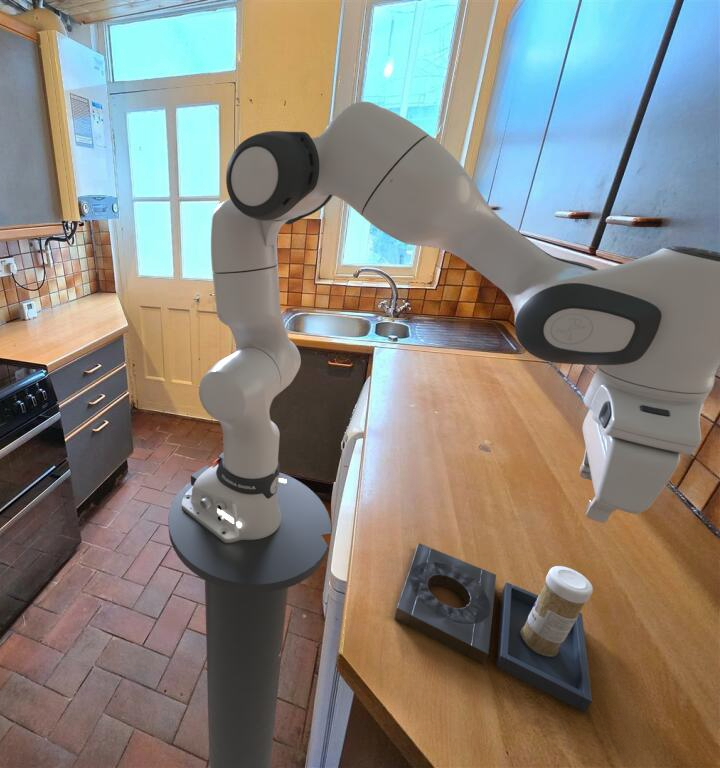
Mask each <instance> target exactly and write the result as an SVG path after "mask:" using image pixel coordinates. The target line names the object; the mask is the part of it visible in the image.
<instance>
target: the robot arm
mask: <svg viewBox="0 0 720 768" xmlns="http://www.w3.org/2000/svg"><path fill="white" fill-rule="evenodd" d="M225 183H226V190H227V193H228V196H229V198H228V199H226V200H224V201H222V202H221V203H220V204H219V205H218V206H216V208H215V209H214V211H213V214H212V216H211V217H212V218H211V228H210V230H211V231H210V260H211V272H212V281H213V282H212V283H213V292H214V301H215V310H216V315H217V318H218V320H219V321H220V322H221V323H222V324H223V325H225V326H227V327H228V328H229V330H230V332H231V334H232V336H233V339H234V343H235V350H234V351H235V352H233V353H231V354H229V355H227V356H225V357H224V358H222V359H220V360H218V361H217V362H216V363H215V364H214V365H213V366H212V367H211V368H209V370H208V371H207V372H206V373H205V374H204V375H203V377H202V378H201V379H200V382H199V385H198V396H199V400H200V403H201V406H202V408H203V409H204V411H205V412H206V413H207V414H208V415H209V416H210V417H211V418H213V419H214V420H216V421H218V422H219V423H220V426H221V430H222V443H223V445H222V446H223V452H222V453H220V454H219V455H218V457H217V458H216V459H215V460H214V461H213V462H212V466H208V465H207V464H206V465H204V466H203V467H202V468H200V469H199V470H197V471H196V472H194V473H192V474H191V475H190V482H191V485H192V486H193V487H192V488H191V489H190V490H189V491H188V492H187V493H186V494H185V496H184V498H183V500H182V506H181V507H182V509H183V510H184V511H186V512H187V513H188V514H189V515H191V516H192V517H193V518H194V519H196V520H197V521H198V522H199V523H201V524H202V525H203V526H205V527H206V528H207V529H208V530H210V531H211V532H212V533H213V534H215V535H216V536H217V537H218V538H220V539H221V540H222V541H223V542H225V543H232V542H236V541H239V540H256V539H261V538H265V537H267V536H269V535H271V534H273V533H274V532H275V531H276V530H277V529H278V528H279V526H280V524H281V519H282V516H281V512H280V509H279V504H278V497H277V489H278V484H279V482H283V483H286V481H287V480H285V479H280V478H279V472H280V461H279V452H280V451H279V449H280V436H281V435H280V430H279V428H278V425H277V424H276V423H275V422H273V420H271V416H270V409H271V406H272V403H273V400H274V399H275V398H276V397H277V396H278V395H280V394H281V392H283V391H284V390H285V389H287V388H288V387H289V386H290V385H291V383H293V381H294V379H295V378H296V376H297V374H298V373H299V370H300V368H301V364H302V359H301V353H300V350H299V349H298V347H297V345H296V344H295V343H294V342H293V341H292V340H291V339H290V337H289V335H288V331H287V328H286V325H285V322H284V321H285V320H284V317H283V314H282V306H281V294H280V292H281V291H280V278H279V277H280V276H279V262H278V261H279V260H278V237H279V233H280V230H281V228H282V227H283V226H284V225H292V224H294V223H295V222H298V221H300V220H302V219H304V218H306V217H309V216H311V215H313V214H314V213H317V212H318V211H320V210H321V209H322V208H324V207H325V206H326V205H328V203H329V202H330V201H331V200H332V198H333V197H334V196H335V197H336V198H338V199H340V200H342V201H343V202H344V203H345V204H347V205H349V207H351V208H352V209H353V210H354V211H356V212H357V213H358V214H359V215H360V216H361V217H362V218H363V219H364V220H366V221H367V222H369V224H371V225H372V226H373V227H375V228H376V229H377V230H379V231H380V232H382V233H384V234H386V235H387V236H390V237H391V238H393V239H395V240H396V241H398V242H400V243H403V244H405V245H409V246H417V247H418V246H419V247H426V248H433V249H438V250H441V251H445V252H447V253H450V254H453V256H456V257H458V258H459V259H461V260H462V261H464V262H465V263H467V264H468V265H469V266H470V267H472V268H473V269H474V270H475V271H476V272H478V273H479V274H480V275H482V276H483V277H484V278H486V279H487V280H488V281H490V282H491V283H492V284H493V285H494V286H496V287H497V288H499V289H500V290H501V291H502V292H503V293H504V294H505V296H506V297H507V299H508V300H509V302H510V304H511V307H512V310H513V313H514V332H515V336H516V339H517V341H518V342H519V344H520V346H521V347H522V348H523V349H524V350H525V351H527V352H528V353H529V354H530V355H531V356H533V357H535V358H537V359H539V360H541V361H546V362H549V363H554V364H566V365H579V366H580V365H581V366H583V365H584V366H586V365H587V366H597V367H596V370H595V372H594V374H593V376H592V378H591V380H590V382H589V385H588V387H587V390H586V392H585V394H584V397H583V398H582V399H583V400H582V401H583V403H584V405H585V407H587V408H588V409H589V410H588V412H587V413H586V415H585V418H584V420H583V423H582V429H581V430H582V435H583V439H584V445H585V451H584V455H583V459H582V460H583V461H582V462H581V465H580V468H579V474H580V477H581V478H582V479H585V480H589V481H592V487H593V491H594V497H593V499H589V500H588V502H587V505H586V507H585V515H586V518H588V519H589V520H591V521H594V522H597V523H602V524H603V523H607V522H608V519H609V518H610V516H611V515H612V513H614V512H615V511H617V510H618V511H622V512H625V513H628V514H632V515H638V514H641V513H643V512H645V511H647V510H648V509H649V508H651V506H653V504H654V502H655V501H656V499H657V498H658V497H659V495H660V494H661V493H662V491H663V490H664V488H665V487H666V486H667V485H668V483H669V482H670V480H671V478H672V477H673V475H674V474H675V472H676V470H677V468H678V466H679V464H680V460H681V454H684V455H690V456H691V455H693V454H694V453H695V452H696V451H697V449H698V448H699V446H700V444H701V443H702V430H701V414H702V412H703V410H704V406H705V405H704V403H705V402H706V401H707V398H708V396H709V394H710V393H711V392H712V390H713V388H714V385H715V377H716V373H717V370H718V368H719V366H720V252H718V251H712V250H708V249H703V248H697V247H690V246H689V247H688V246H681V245H679V246H675V245H674V246H666V247H662V248H660V249H658V250H657V251H655V252H653V253H651V254H648V255H645V256H641V257H640V258H637V259H634V260H631V261H628V262H624V263H621V264H617V265H614V266H610V267H606V268H601V269H598V268H596V267H595V266H593V265H590V264H586V263H583V262H579V261H574V260H570V259H565V258H560V257H557V256H553V255H552V254H550V253H548V252H546V251H545V250H543V249H542V248H540V247H539V246H538V245H536V244H535V243H534V242H533V241H531V240H530V239H528V238H527V237H526V236H524V235H523V234H522V233H521V232H519V231H518V230H516V229H515V228H514V227H513V226H511V224H509V223H507V222H506V221H505V220H503V218H501V217H500V216H499V215H498V214H497V213H496V212H495V211H494V209H493V208H491V206H490V205H489V204H488V202H487V201H486V199H485V198H484V196H483V194H482V193H481V191H480V189H479V188H478V186H477V185H476V183H475V182H474V180H473V179H472V177H471V176H470V174H469V173H468V172H467V170H466V169H465V168H464V166H463V165H462V164H461V163H460V162H459V160H458V159H457V158H456V157H455V156H454V155H453V154H452V153H451V152H450V151H449V150H448V149H447V148H446V147H445V146H444V145H442V143H440V142H439V141H438V140H437V139H435V138H434V137H433V136H431V135H430V134H429V133H428V132H426V131H425V130H424V129H422V128H420V127H419V126H418V125H416V124H414V123H413V122H412V121H410V120H409V119H406V118H405V117H404V116H401V115H399V114H398V113H396V112H393V111H391V110H389V109H387V108H385V107H383V106H381V105H378V104H377V103H374V102H370V101H356V102H354V103H351V104H349V105H348V106H346V107H345V108H343V109H341V110H340V111H339V112H337V114H336V115H335V116H334V117H333V118H332V120H331V121H330V122H329V124H328V125H327V126H326V128H325V129H324V131H322V133H321V134H320V135H318V136H316V137H311V135H310V134H309V133H308V132H306V131H285V130H284V131H283V130H269V131H264V132H259V133H256V134H254V135H252V136H249V137H247V138H246V139H244V140H243V141H242V142H241V143H239V145H238V146H236V148H235V149H234V151H233V152H232V154H231V156H230V158H229V161H228V164H227V167H226V174H225Z"/></svg>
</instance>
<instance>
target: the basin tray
mask: <svg viewBox="0 0 720 768" xmlns="http://www.w3.org/2000/svg"><path fill="white" fill-rule="evenodd" d="M539 595H540V594H539ZM539 595H538V594H536V593H533V592H532V591H528V590H527V589H524V588H522V587H519V586H517V585H514V584H512V583H510V582H508V581H506V582H505V584H504V586H503V588H502V591H501V596H500V610H499V621H498V636H497V649H496V660H495V661H496V662H495V668H497V669H500V670H501V671H503V672H505V673H507V674H509V675H510V676H513V677H515V678H516V679H519V680H520V681H522V682H524V683H527V684H528V685H530V686H532V687H534V688H536V689H538V690H540V691H541V692H544V693H546V694H548V695H550V696H551V697H554V698H555V699H558V700H559V701H561V702H563V703H565V704H567V705H569V706H570V707H572V708H575V709H577V710H579V711H581V712H583V713H586V712H587V710H588V709H589V707H590V705H591V704H592V702H593V698H592V689H591V688H592V687H591V680H590V670H589V664H588V663H589V662H588V654H587V653H588V652H587V645H586V636H585V628H584V620H583V613H582V612H581V611H580V612H579V615H578V617H577V619H576V621H575V623H574V624H573V626H572V628H571V630H570V632H569V633H568V635H567V637H566V638H565V640H564V641H563V642H562V644H561V646H560V647H559V651H558V654H557V655H556V656H554V657H546V656H543V655H540V654H538V653H536V652H535V651H533V650H532V649H530V648H529V647H528V646H527V645H526V644H525V643H524V641H523V639H522V637H521V632H520V631H521V629H522V628H523V627H524V626H525V624H526V621H527V620H528V616H529V614H530V612H531V610H532V608H533V606H534V605H535V602H536V600H537V598H538V596H539Z"/></svg>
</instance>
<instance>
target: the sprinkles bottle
mask: <svg viewBox="0 0 720 768" xmlns="http://www.w3.org/2000/svg"><path fill="white" fill-rule="evenodd" d="M542 587H543V588H542V589H541V591H540V593H539V596H538V598H537V600H536V602H535V605H534V606H533V608H532V610H531V612H530V614H529V616H528V620H527V621H526V624H525V626H524V627H523V628H522V629H521V631H520V632H521V637H522V639H523V641H524V643H525V644H526V645H527V646H528V647H529V648H530V649H532V650H533V651H535V652H536V653H538V654H540V655H543V656H546V657H554V656H556V655H557V654H558V651H559V647H560V646H561V644H562V642H563V641H564V640H565V638H566V637H567V635H568V633H569V632H570V630H571V628H572V626H573V624H574V623H575V621H576V619H577V617H578V615H579V612H580V613H581V611H582V609H583V608H584V605H585V604H586V603H588V602H589V600H590V598H591V597H592V594H593V592H594V587H593V585H592V582H590V580H589V579H588V578H587V577H586V576H584V575H583V574H582V573H580V572H579V571H576V570H574V569H572V568H570V567H567V566H562V565H556V566H552V567H550V568H549V571H548V573H547V574H546V576H545V583H544V585H543V586H542Z"/></svg>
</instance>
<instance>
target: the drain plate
mask: <svg viewBox="0 0 720 768" xmlns="http://www.w3.org/2000/svg"><path fill="white" fill-rule="evenodd" d="M496 580H497V574H495V573H493V572H491V571H489V570H487V569H483V568H481V567H478V566H476V565H474V564H471V563H469V562H466V561H464V560H462V559H460V558H457V557H454V556H452V555H449V554H447V553H444V552H442V551H440V550H437V549H436V548H433V547H430V546H427V545H426V544H423V543H420V542H418V543H417V546H416V549H415V552H414V556H413V559H412V561H411V564H410V569H409V570H408V574H407V576H406V580H405V583H404V586H403V589H402V591H401V595H400V597H399V602H398V604H397V606H396V611H395V614H394V620H397V621H398V622H400V623H401V624H404V625H406V626H408V627H410V628H412V629H413V630H415V631H417V632H420V633H421V634H423V635H425V636H427V637H428V638H431V639H433V640H435V641H436V642H439V643H440V644H442V645H445V646H446V647H448V648H450V649H452V650H454V651H455V652H458V653H459V654H462V655H463V656H466V657H467V658H469V659H471V660H473V661H475V662H477V663H479V664H481V665H483V666H484V665H485V663H486V660H487V658H488V656H489V652H490V643H491V642H490V641H491V632H492V623H493V621H492V620H493V612H494V602H495V591H496V583H497V582H496ZM430 586H441V587H445V588H447V589H449V590H451V591H453V592H454V593H455V594H457V595H458V596H459V597H460V598H461V599H462V601H463V602H464V605H465V607H453V606H449V605H448V604H445V603H443V602H442V601H440V600H439V599H438V598H436V597H435V596H434V595H433V593H432V592H431V590H430V589H429V587H430Z"/></svg>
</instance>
